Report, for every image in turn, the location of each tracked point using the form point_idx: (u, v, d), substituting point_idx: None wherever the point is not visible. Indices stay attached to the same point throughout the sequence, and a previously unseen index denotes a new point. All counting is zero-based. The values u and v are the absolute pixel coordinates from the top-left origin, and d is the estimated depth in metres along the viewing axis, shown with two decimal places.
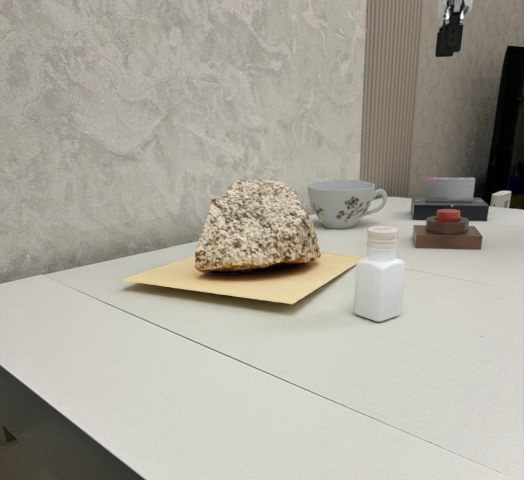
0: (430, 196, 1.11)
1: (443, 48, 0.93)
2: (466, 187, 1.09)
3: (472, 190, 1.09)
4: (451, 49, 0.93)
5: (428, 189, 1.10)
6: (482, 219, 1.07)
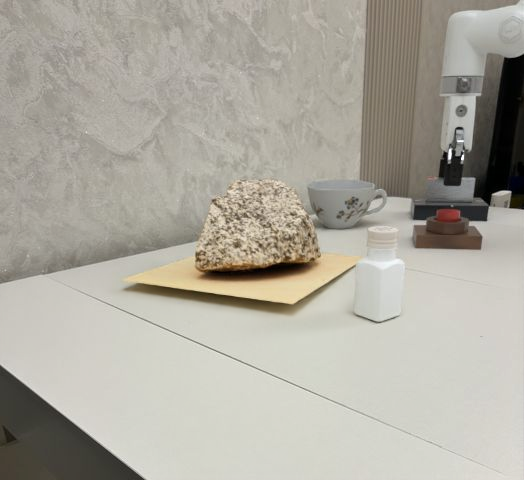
0: (430, 196, 1.11)
1: (445, 182, 1.05)
2: (466, 187, 1.09)
3: (472, 190, 1.09)
4: (452, 183, 1.05)
5: (428, 189, 1.10)
6: (482, 219, 1.07)
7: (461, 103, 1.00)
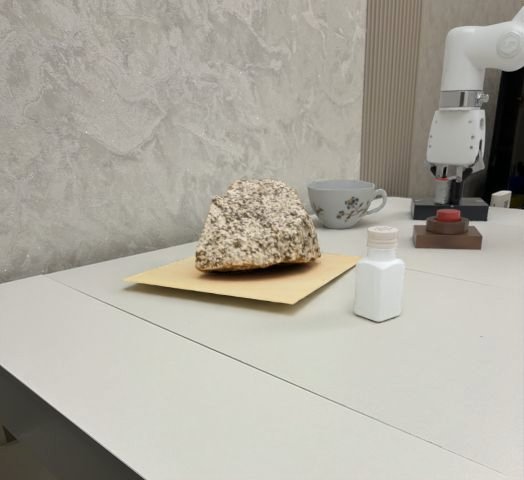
0: (446, 198, 1.08)
1: (454, 199, 1.09)
2: None
3: None
4: (456, 199, 1.10)
5: (445, 191, 1.07)
6: (482, 219, 1.07)
7: (482, 116, 1.02)
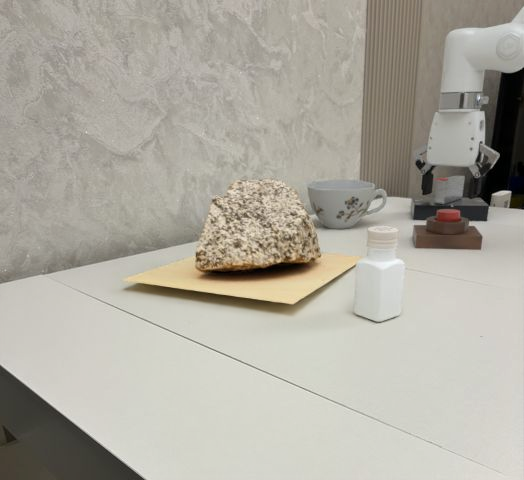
0: (445, 198, 1.08)
1: (472, 196, 1.07)
2: (460, 185, 1.12)
3: None
4: (474, 196, 1.08)
5: (445, 191, 1.07)
6: (482, 219, 1.07)
7: (481, 118, 1.02)
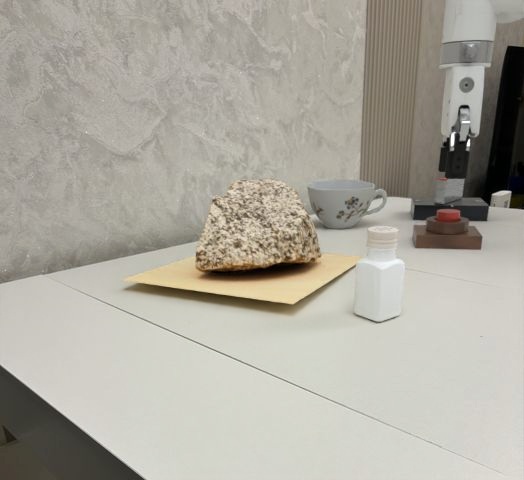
0: (445, 198, 1.08)
1: (447, 174, 0.85)
2: (460, 185, 1.12)
3: None
4: (456, 176, 0.85)
5: (445, 191, 1.07)
6: (482, 219, 1.07)
7: (467, 74, 0.80)
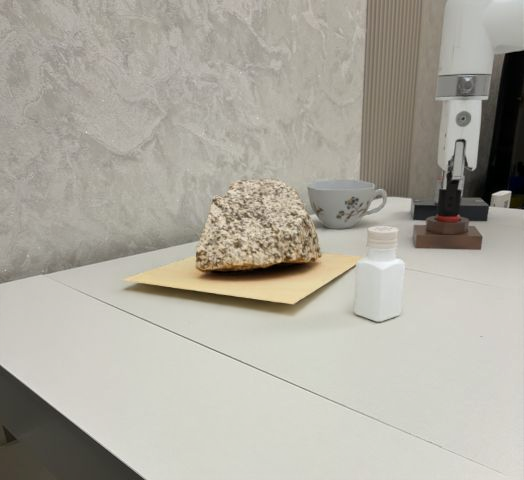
0: None
1: (440, 212, 0.88)
2: None
3: None
4: (448, 213, 0.88)
5: None
6: (482, 219, 1.07)
7: (464, 108, 0.78)
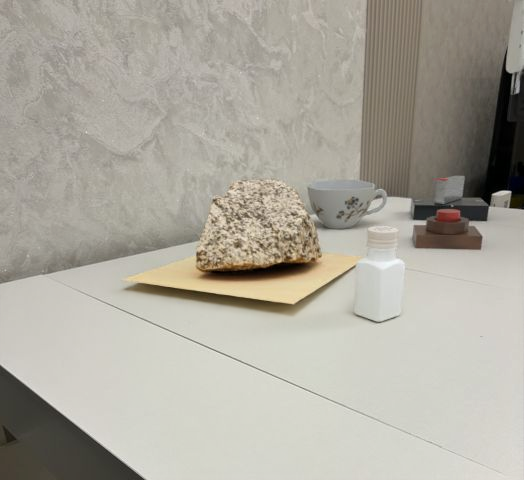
0: (445, 198, 1.08)
1: (512, 117, 0.88)
2: (460, 185, 1.12)
3: None
4: (520, 118, 0.88)
5: (445, 191, 1.07)
6: (482, 219, 1.07)
7: None
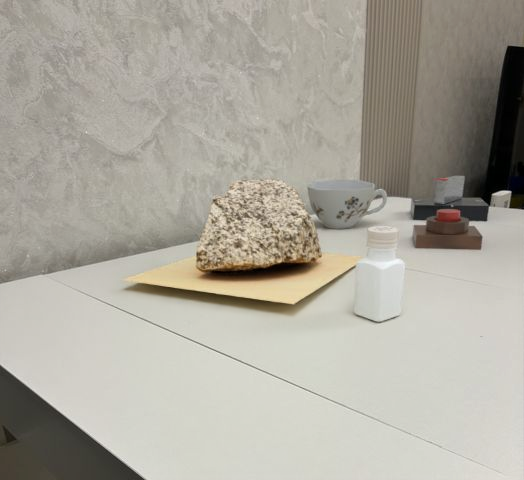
0: (445, 198, 1.08)
1: None
2: (460, 185, 1.12)
3: None
4: None
5: (445, 191, 1.07)
6: (482, 219, 1.07)
7: None
